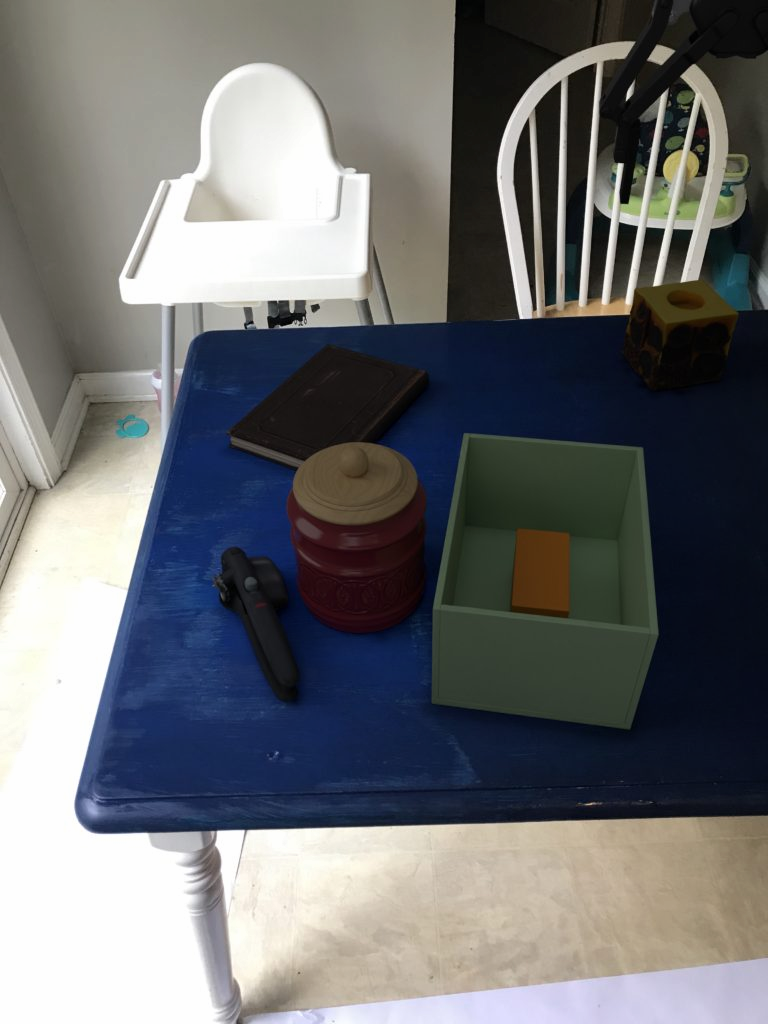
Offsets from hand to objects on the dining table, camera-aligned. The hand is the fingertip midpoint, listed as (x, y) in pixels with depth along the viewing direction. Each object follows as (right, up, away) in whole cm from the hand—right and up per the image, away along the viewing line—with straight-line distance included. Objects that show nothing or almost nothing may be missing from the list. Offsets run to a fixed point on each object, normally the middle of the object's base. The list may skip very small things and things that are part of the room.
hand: (700, 201), depth 75 cm
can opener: (-40, -40, +5) cm, 57 cm away
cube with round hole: (+10, -9, +37) cm, 40 cm away
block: (-14, -38, +5) cm, 41 cm away
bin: (-14, -38, +6) cm, 41 cm away
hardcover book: (-35, -16, +31) cm, 50 cm away
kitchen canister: (-31, -36, +9) cm, 48 cm away
